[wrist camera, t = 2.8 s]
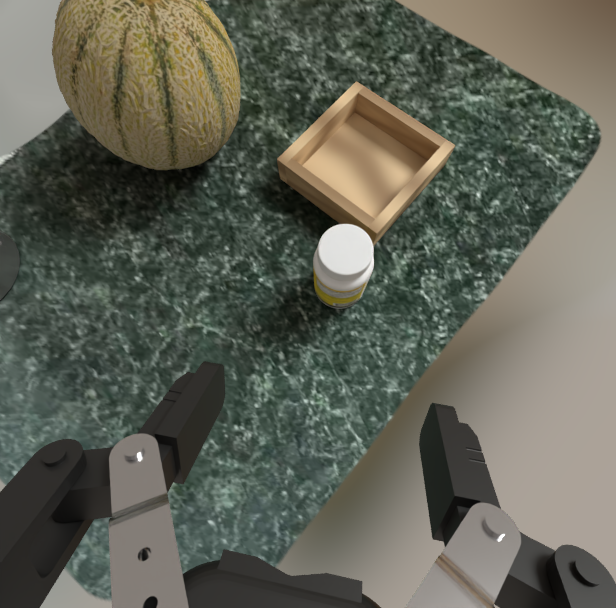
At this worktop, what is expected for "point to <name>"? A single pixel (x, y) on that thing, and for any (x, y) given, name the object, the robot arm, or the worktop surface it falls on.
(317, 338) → the worktop surface
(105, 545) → the worktop surface
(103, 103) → the cantaloupe
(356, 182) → the box
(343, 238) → the supplement bottle
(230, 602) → the robot arm
